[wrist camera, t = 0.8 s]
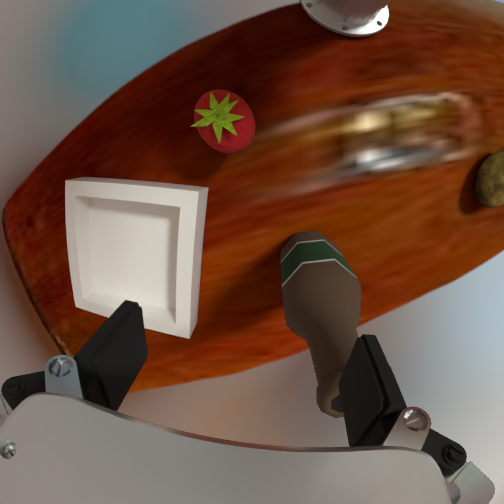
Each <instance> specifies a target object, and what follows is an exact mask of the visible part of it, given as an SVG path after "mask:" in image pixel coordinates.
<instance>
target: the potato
mask: <svg viewBox="0 0 504 504" xmlns="http://www.w3.org/2000/svg"><path fill="white" fill-rule="evenodd" d="M475 194H476V197H477V200H478V202H479V203H480V204H482V205H484V206H486V207H489V208H495V207H498V206H501V205H504V148H502V149H501V150H499V151H498V152H497V153H495V154H492V155H491V156H489V157H488V158H487V159H486V160H485V161H484V162H483V163H482V165H481V167H480V169H479V171H478V174H477V178H476V183H475Z"/></svg>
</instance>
